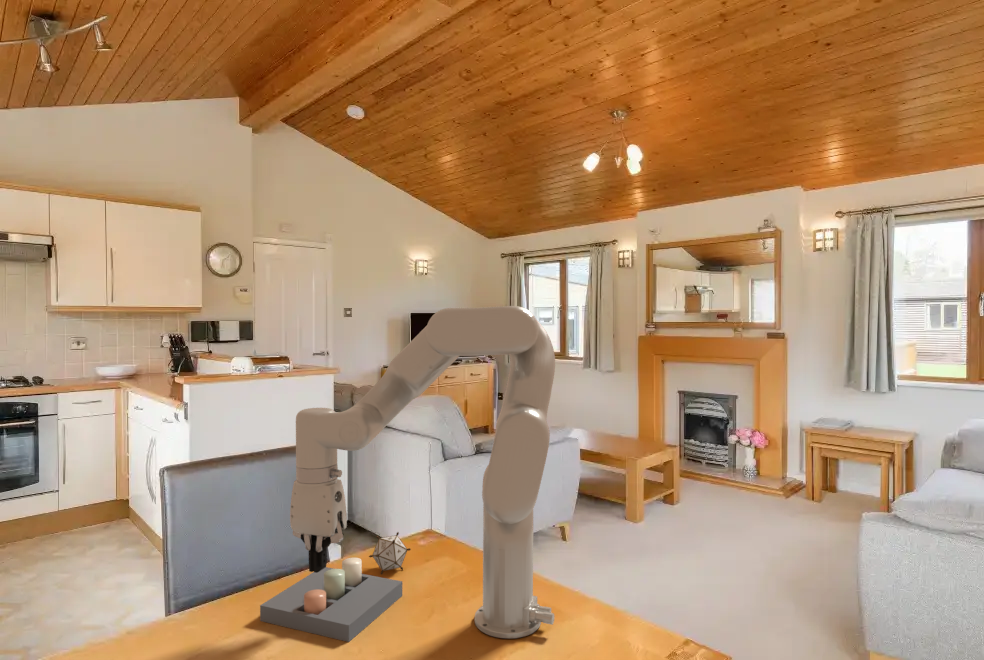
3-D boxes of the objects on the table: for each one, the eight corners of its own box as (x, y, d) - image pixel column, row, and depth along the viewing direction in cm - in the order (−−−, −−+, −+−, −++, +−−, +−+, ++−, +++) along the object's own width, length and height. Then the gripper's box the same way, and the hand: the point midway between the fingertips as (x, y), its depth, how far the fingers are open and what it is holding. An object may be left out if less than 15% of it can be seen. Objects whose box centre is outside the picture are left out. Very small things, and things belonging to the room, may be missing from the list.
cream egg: (365, 582, 126) (365, 559, 126) (354, 590, 122) (354, 566, 122) (349, 579, 127) (349, 556, 127) (338, 587, 123) (338, 563, 123)
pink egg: (330, 617, 115) (330, 591, 114) (317, 627, 111) (317, 600, 111) (313, 613, 116) (313, 588, 116) (299, 623, 112) (299, 597, 112)
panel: (402, 595, 124) (402, 581, 124) (348, 641, 107) (348, 625, 107) (322, 579, 132) (322, 566, 131) (260, 620, 114) (260, 605, 114)
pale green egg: (348, 595, 120) (348, 570, 120) (336, 604, 116) (336, 578, 116) (332, 591, 122) (332, 567, 121) (319, 600, 118) (319, 575, 118)
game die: (395, 588, 136) (405, 563, 130) (361, 574, 136) (369, 549, 130) (408, 556, 143) (418, 531, 138) (375, 543, 143) (383, 517, 138)
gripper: (361, 472, 114) (362, 567, 115) (297, 465, 120) (298, 556, 120) (338, 482, 107) (339, 583, 108) (271, 475, 113) (272, 571, 113)
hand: (317, 569), depth 114 cm, fingers closed
